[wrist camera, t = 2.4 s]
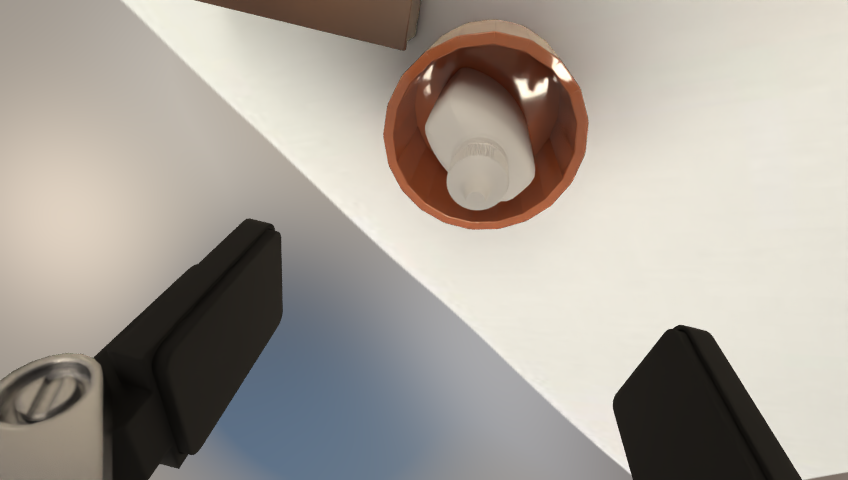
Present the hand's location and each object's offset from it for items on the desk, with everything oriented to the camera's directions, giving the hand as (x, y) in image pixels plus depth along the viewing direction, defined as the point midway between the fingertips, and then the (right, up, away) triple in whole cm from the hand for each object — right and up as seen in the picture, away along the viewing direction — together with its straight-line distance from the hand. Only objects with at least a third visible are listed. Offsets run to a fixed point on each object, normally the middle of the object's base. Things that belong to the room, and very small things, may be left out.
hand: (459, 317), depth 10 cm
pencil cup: (+3, +10, +15) cm, 18 cm away
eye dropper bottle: (+3, +10, +14) cm, 18 cm away
